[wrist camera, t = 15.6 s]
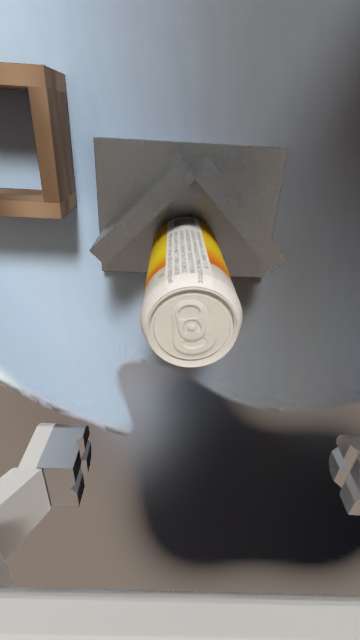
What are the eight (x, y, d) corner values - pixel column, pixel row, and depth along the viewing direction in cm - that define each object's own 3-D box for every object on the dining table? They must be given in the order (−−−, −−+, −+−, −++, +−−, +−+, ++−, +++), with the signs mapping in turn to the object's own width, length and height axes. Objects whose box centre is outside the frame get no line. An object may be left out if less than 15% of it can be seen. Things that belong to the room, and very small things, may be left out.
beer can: (159, 281, 34) (151, 379, 21) (145, 221, 31) (126, 292, 18) (220, 271, 34) (250, 364, 21) (212, 208, 31) (240, 272, 18)
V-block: (284, 148, 29) (319, 155, 22) (261, 273, 35) (283, 311, 28) (95, 137, 28) (71, 141, 22) (103, 267, 34) (86, 303, 27)
